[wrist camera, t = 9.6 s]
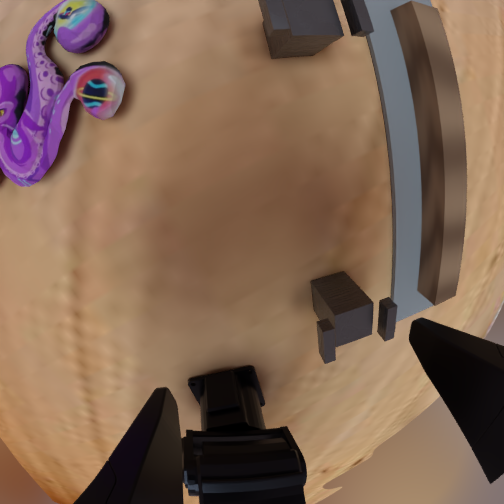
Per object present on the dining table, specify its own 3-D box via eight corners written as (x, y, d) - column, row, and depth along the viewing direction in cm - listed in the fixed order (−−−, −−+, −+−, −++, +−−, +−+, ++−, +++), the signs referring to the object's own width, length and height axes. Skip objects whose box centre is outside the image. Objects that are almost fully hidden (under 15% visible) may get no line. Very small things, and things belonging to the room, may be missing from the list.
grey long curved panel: (449, 294, 27) (451, 296, 26) (388, 321, 26) (391, 324, 26) (425, -2, 14) (428, -3, 13) (347, -20, 13) (349, -22, 13)
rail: (437, 281, 25) (455, 295, 22) (417, 290, 25) (434, 305, 22) (415, 16, 14) (437, 8, 12) (390, 10, 14) (411, 0, 11)
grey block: (329, 55, 16) (374, 31, 10) (252, 61, 16) (273, 29, 10) (319, 20, 15) (359, -12, 9) (243, 24, 14) (260, -17, 9)
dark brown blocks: (358, 296, 24) (393, 337, 18) (299, 314, 24) (324, 363, 18) (357, 267, 23) (397, 305, 17) (295, 285, 23) (322, 332, 17)
